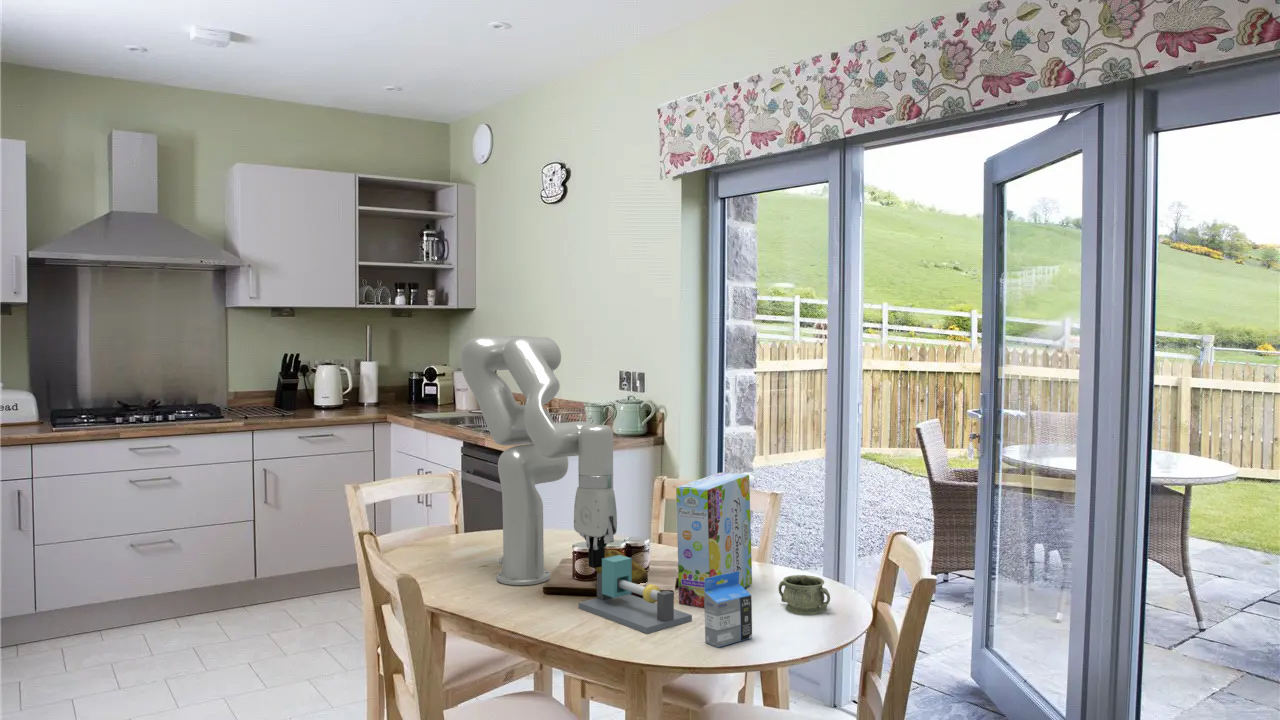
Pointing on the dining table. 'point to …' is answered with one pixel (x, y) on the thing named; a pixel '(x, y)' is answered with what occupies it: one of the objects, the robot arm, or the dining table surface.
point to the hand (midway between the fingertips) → (596, 566)
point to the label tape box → (726, 610)
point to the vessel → (804, 594)
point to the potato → (637, 571)
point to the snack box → (713, 533)
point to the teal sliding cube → (615, 575)
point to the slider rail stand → (637, 607)
